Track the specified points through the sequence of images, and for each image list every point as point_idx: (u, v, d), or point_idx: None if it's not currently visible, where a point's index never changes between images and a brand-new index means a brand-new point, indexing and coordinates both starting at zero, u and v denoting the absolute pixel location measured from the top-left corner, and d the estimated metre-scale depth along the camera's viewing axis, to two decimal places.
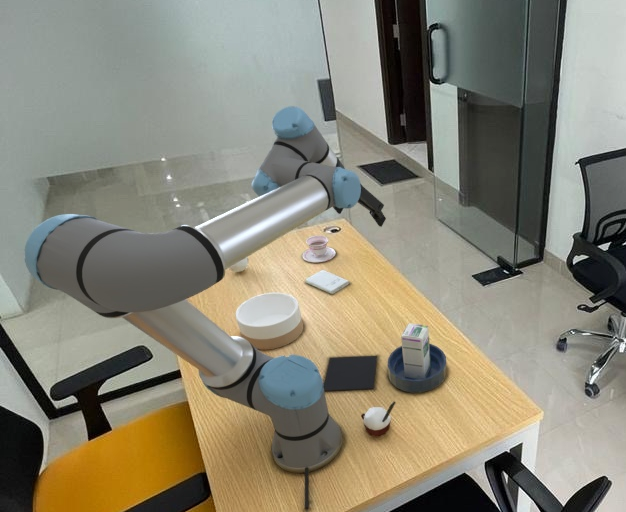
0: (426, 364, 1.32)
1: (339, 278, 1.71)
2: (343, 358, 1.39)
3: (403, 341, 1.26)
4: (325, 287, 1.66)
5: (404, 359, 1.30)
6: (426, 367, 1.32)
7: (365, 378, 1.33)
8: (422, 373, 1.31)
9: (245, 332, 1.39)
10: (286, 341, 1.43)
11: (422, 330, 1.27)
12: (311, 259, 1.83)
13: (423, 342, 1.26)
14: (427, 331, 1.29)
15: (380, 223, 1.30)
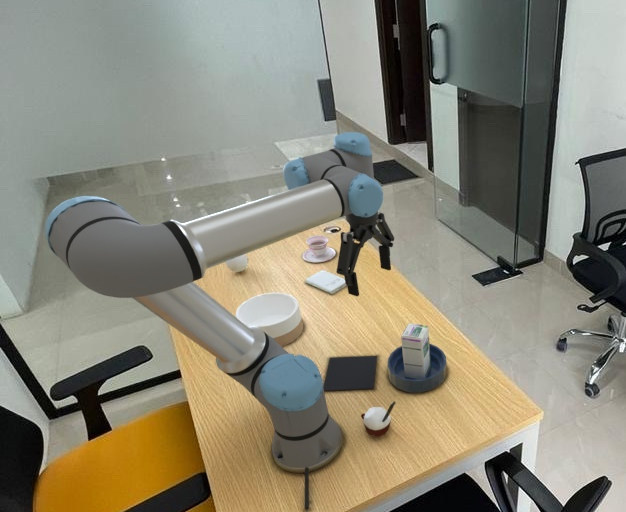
0: (426, 364, 1.32)
1: (339, 278, 1.71)
2: (343, 358, 1.39)
3: (403, 341, 1.26)
4: (325, 287, 1.66)
5: (404, 359, 1.30)
6: (426, 367, 1.32)
7: (365, 378, 1.33)
8: (422, 373, 1.31)
9: None
10: (286, 341, 1.43)
11: (422, 330, 1.27)
12: (311, 259, 1.83)
13: (423, 342, 1.26)
14: (427, 331, 1.29)
15: (349, 290, 1.21)
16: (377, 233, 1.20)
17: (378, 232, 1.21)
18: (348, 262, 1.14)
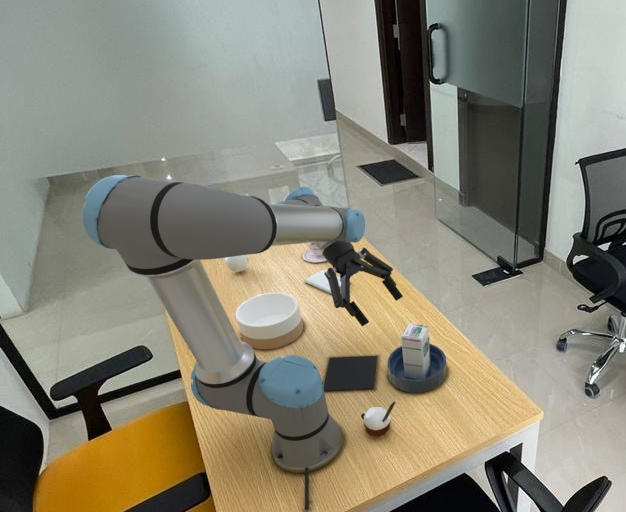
0: (426, 364, 1.32)
1: (339, 278, 1.71)
2: (343, 358, 1.39)
3: (403, 341, 1.26)
4: (325, 287, 1.66)
5: (404, 359, 1.30)
6: (426, 367, 1.32)
7: (365, 378, 1.33)
8: (422, 373, 1.31)
9: (245, 332, 1.39)
10: (286, 341, 1.43)
11: (422, 330, 1.27)
12: (311, 259, 1.83)
13: (423, 342, 1.26)
14: (427, 331, 1.29)
15: (360, 322, 1.25)
16: (364, 264, 1.28)
17: (365, 262, 1.29)
18: (338, 292, 1.21)
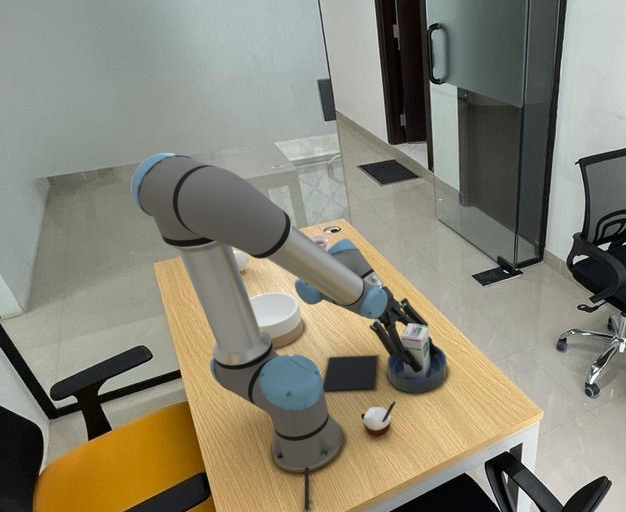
0: (426, 364, 1.32)
1: None
2: (343, 358, 1.39)
3: (403, 341, 1.26)
4: None
5: None
6: (426, 367, 1.32)
7: (365, 378, 1.33)
8: (422, 373, 1.31)
9: None
10: (286, 341, 1.43)
11: (422, 330, 1.27)
12: None
13: (423, 342, 1.26)
14: (427, 331, 1.29)
15: (413, 369, 1.28)
16: (403, 314, 1.29)
17: (404, 313, 1.30)
18: (391, 342, 1.24)
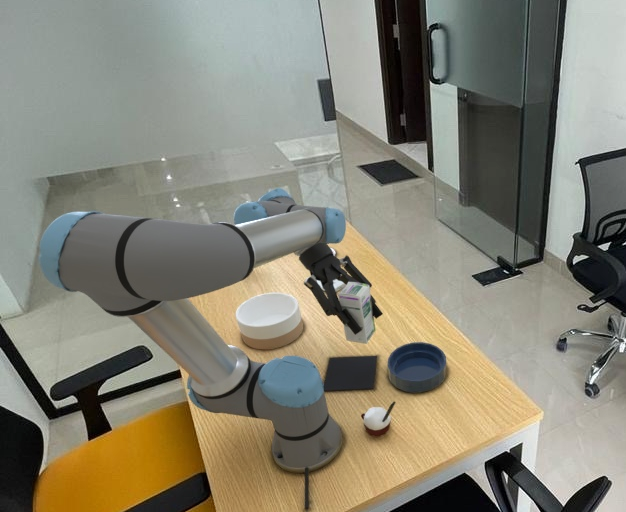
0: (368, 326, 1.23)
1: None
2: (343, 358, 1.39)
3: (340, 299, 1.18)
4: None
5: None
6: (368, 330, 1.24)
7: (365, 378, 1.33)
8: (363, 336, 1.23)
9: (245, 332, 1.39)
10: (286, 341, 1.43)
11: (362, 288, 1.19)
12: None
13: (361, 301, 1.17)
14: (368, 290, 1.20)
15: (353, 330, 1.20)
16: (342, 272, 1.21)
17: (344, 271, 1.21)
18: (326, 300, 1.16)
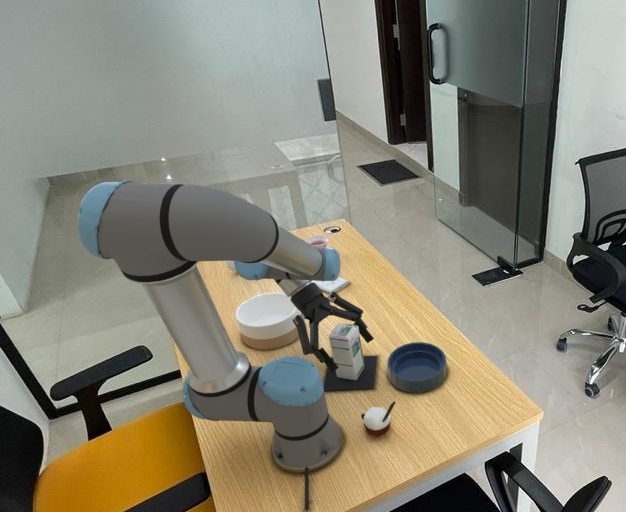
0: (357, 364, 1.31)
1: (339, 278, 1.71)
2: None
3: (331, 341, 1.25)
4: (325, 287, 1.66)
5: (334, 359, 1.29)
6: (358, 367, 1.31)
7: (365, 378, 1.33)
8: (353, 373, 1.30)
9: (245, 332, 1.39)
10: (286, 341, 1.43)
11: (351, 330, 1.26)
12: None
13: (351, 342, 1.25)
14: (357, 331, 1.28)
15: (330, 368, 1.25)
16: (333, 308, 1.28)
17: (334, 307, 1.29)
18: (307, 339, 1.21)
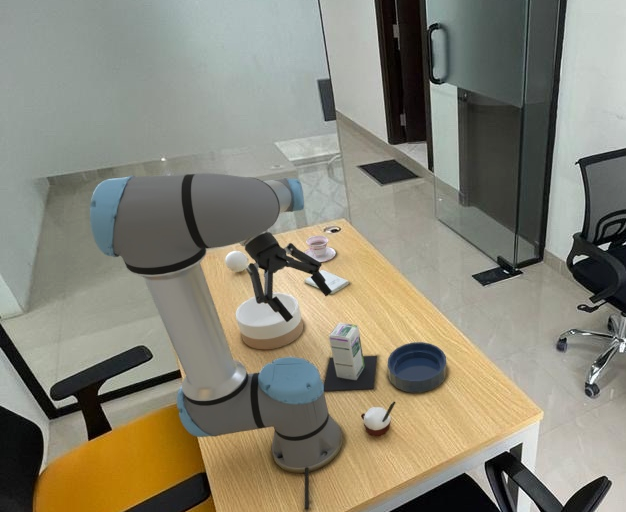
0: (357, 364, 1.31)
1: (339, 278, 1.71)
2: None
3: (331, 341, 1.25)
4: None
5: (334, 359, 1.29)
6: (358, 367, 1.31)
7: (365, 378, 1.33)
8: (353, 373, 1.30)
9: (245, 332, 1.39)
10: (286, 341, 1.43)
11: (351, 330, 1.26)
12: None
13: (350, 342, 1.25)
14: (357, 331, 1.28)
15: (284, 318, 1.23)
16: (289, 259, 1.27)
17: (291, 258, 1.27)
18: (260, 287, 1.20)
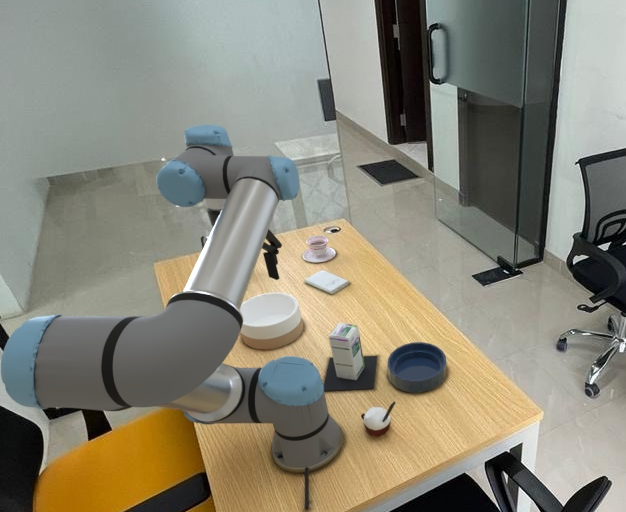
0: (357, 364, 1.31)
1: (339, 278, 1.71)
2: None
3: (331, 341, 1.25)
4: (325, 287, 1.66)
5: (334, 359, 1.29)
6: (358, 367, 1.31)
7: (365, 378, 1.33)
8: (353, 373, 1.30)
9: (245, 332, 1.39)
10: (286, 341, 1.43)
11: (351, 330, 1.26)
12: (311, 259, 1.83)
13: (350, 342, 1.25)
14: (357, 331, 1.28)
15: None
16: None
17: None
18: None
